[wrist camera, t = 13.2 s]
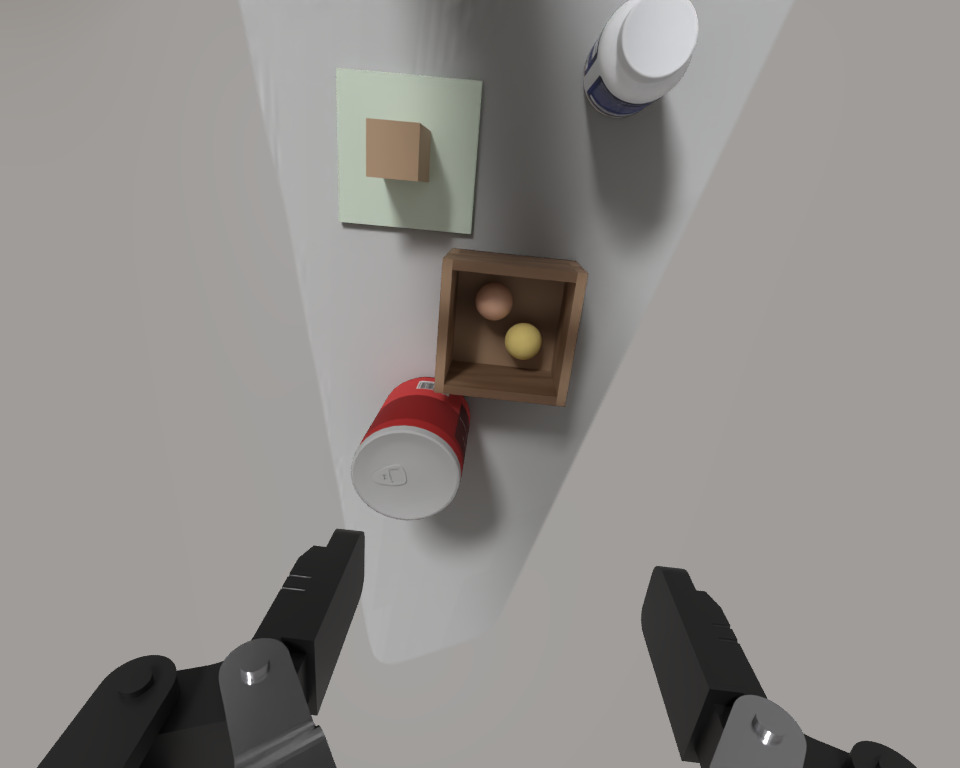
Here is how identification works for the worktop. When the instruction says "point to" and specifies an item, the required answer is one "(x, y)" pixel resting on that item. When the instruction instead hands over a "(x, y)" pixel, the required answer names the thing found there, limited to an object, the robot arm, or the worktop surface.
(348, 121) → the lid
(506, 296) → the ball terracotta
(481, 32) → the worktop surface
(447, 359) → the box
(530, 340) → the ball mustard
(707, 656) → the robot arm
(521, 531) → the worktop surface
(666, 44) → the pill bottle
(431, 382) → the canned food
